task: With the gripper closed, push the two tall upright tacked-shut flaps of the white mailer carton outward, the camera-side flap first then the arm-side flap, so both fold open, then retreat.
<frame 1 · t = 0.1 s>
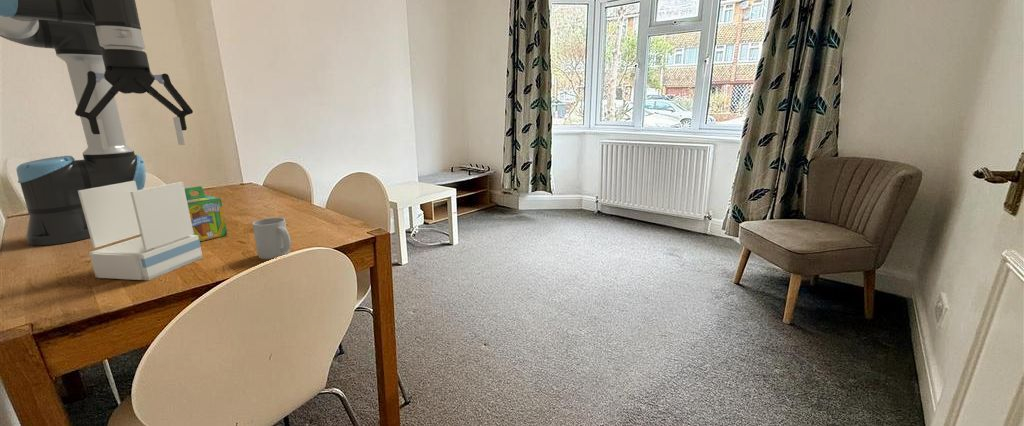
hand: (145, 147, 99), 28 cm above the table, fingers open, 13 cm apart
front flap: (164, 214, 97), point 13 cm above the table, hinge at 0.0°
chalk box: (204, 237, 125), on the table
back flap: (115, 212, 99), point 13 cm above the table, hinge at 0.0°
cup: (278, 256, 109), on the table
carton: (152, 267, 102), on the table
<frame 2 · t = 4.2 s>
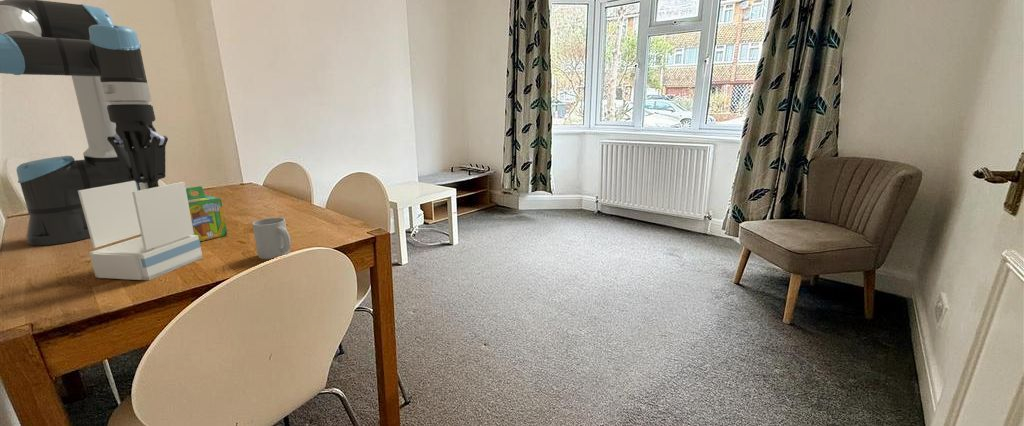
hand: (153, 209, 97), 14 cm above the table, fingers closed
front flap: (165, 214, 97), point 13 cm above the table, hinge at 2.0°, touching gripper
everything else where it was.
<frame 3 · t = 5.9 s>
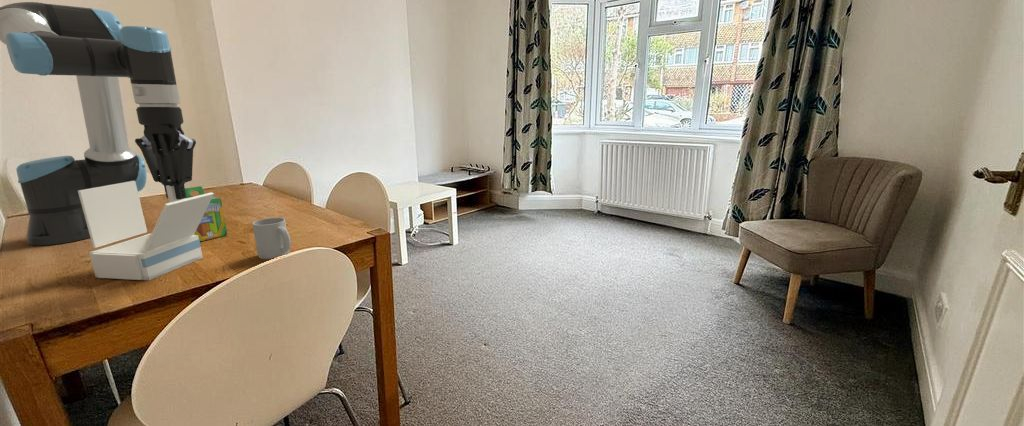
hand: (179, 212, 97), 14 cm above the table, fingers closed
front flap: (180, 220, 97), point 12 cm above the table, hinge at 36.7°, touching gripper
everything else where it was.
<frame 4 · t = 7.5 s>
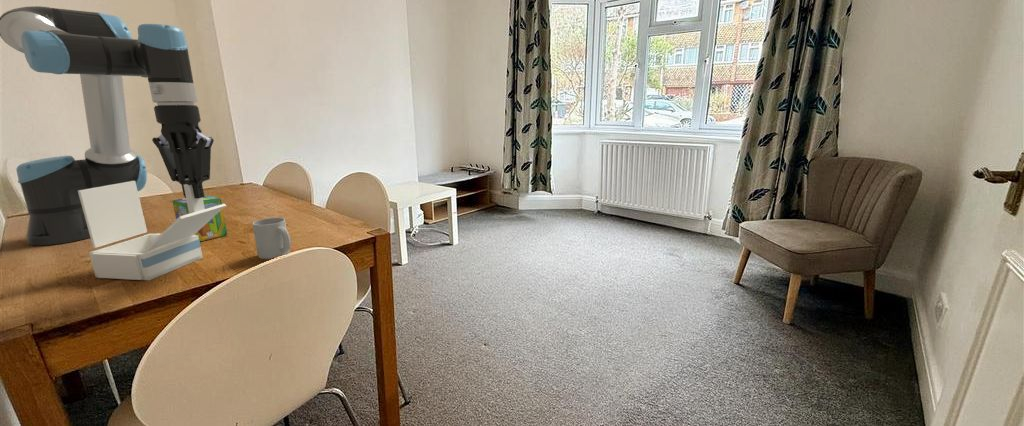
hand: (197, 212, 96), 14 cm above the table, fingers closed
front flap: (187, 226, 97), point 10 cm above the table, hinge at 53.8°, touching gripper
everything else where it was.
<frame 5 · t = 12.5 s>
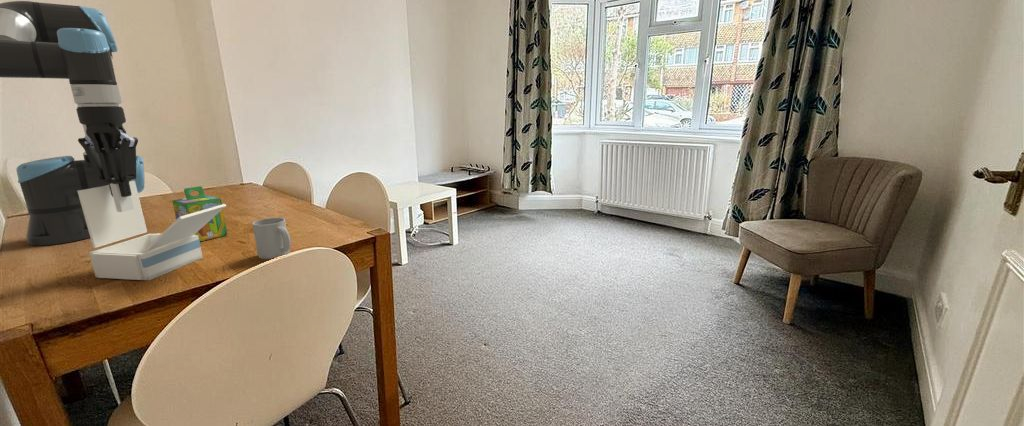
hand: (125, 210, 99), 14 cm above the table, fingers closed
front flap: (187, 226, 97), point 10 cm above the table, hinge at 54.0°
back flap: (114, 212, 99), point 13 cm above the table, hinge at 0.5°, touching gripper
everything else where it was.
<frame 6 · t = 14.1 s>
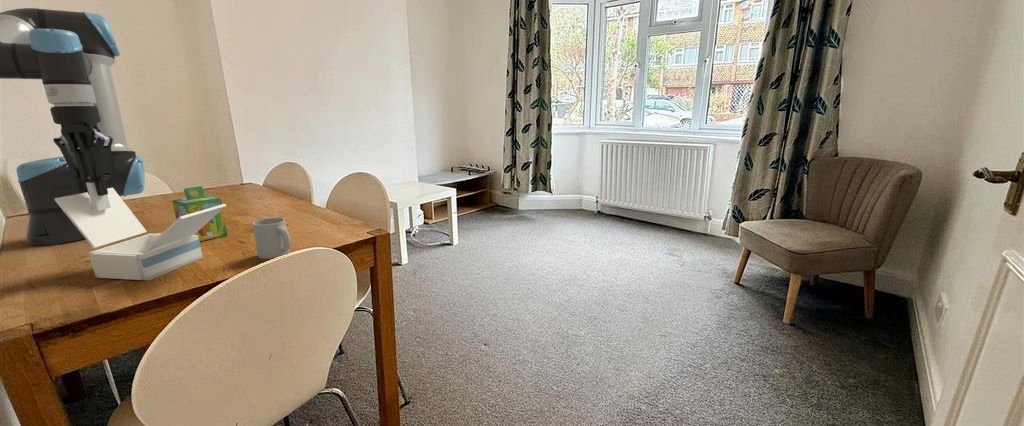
hand: (102, 209, 100), 14 cm above the table, fingers closed
back flap: (103, 216, 100), point 12 cm above the table, hinge at 31.6°, touching gripper
everything else where it was.
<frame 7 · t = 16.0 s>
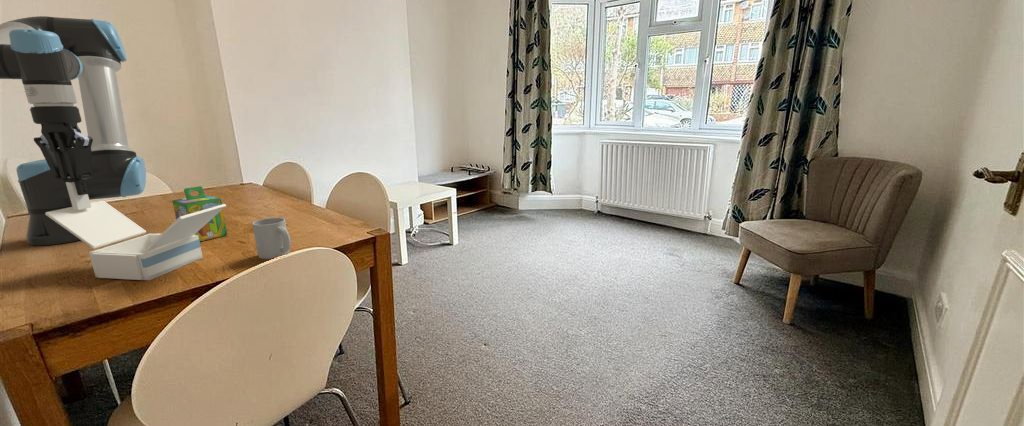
hand: (82, 208, 100), 14 cm above the table, fingers closed
back flap: (98, 223, 101), point 11 cm above the table, hinge at 53.5°, touching gripper
everything else where it was.
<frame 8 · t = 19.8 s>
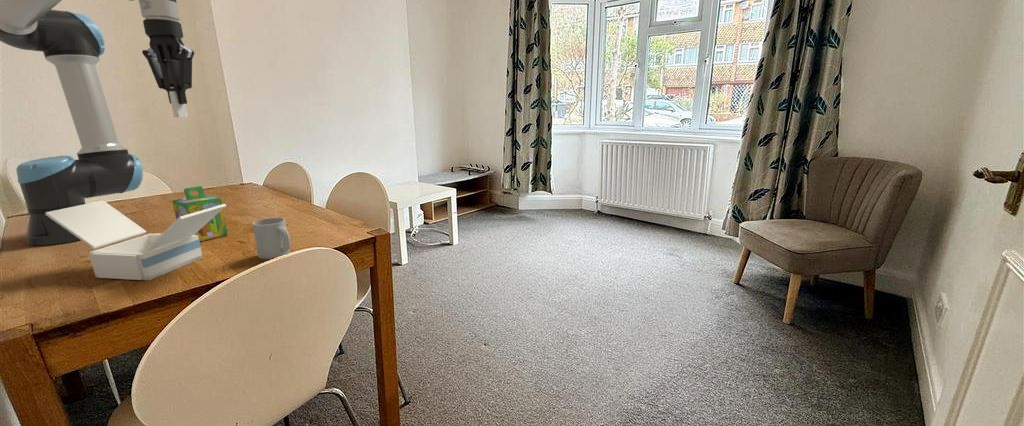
hand: (181, 117, 112), 34 cm above the table, fingers closed
back flap: (98, 223, 101), point 11 cm above the table, hinge at 53.6°
everything else where it was.
at the end: front flap at +54° (first picture: +0°); back flap at +54° (first picture: +0°) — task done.
